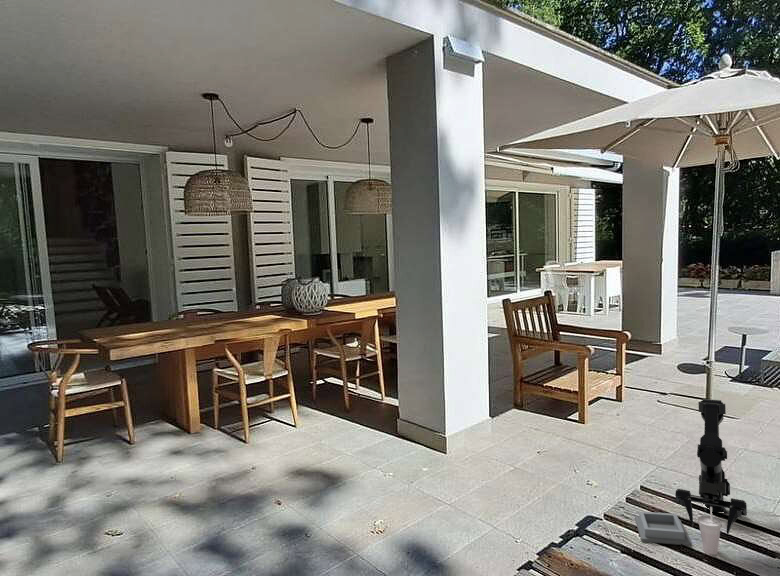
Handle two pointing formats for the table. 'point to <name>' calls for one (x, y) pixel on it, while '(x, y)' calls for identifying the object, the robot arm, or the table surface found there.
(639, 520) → the holder
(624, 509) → the table surface
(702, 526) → the smoothie
